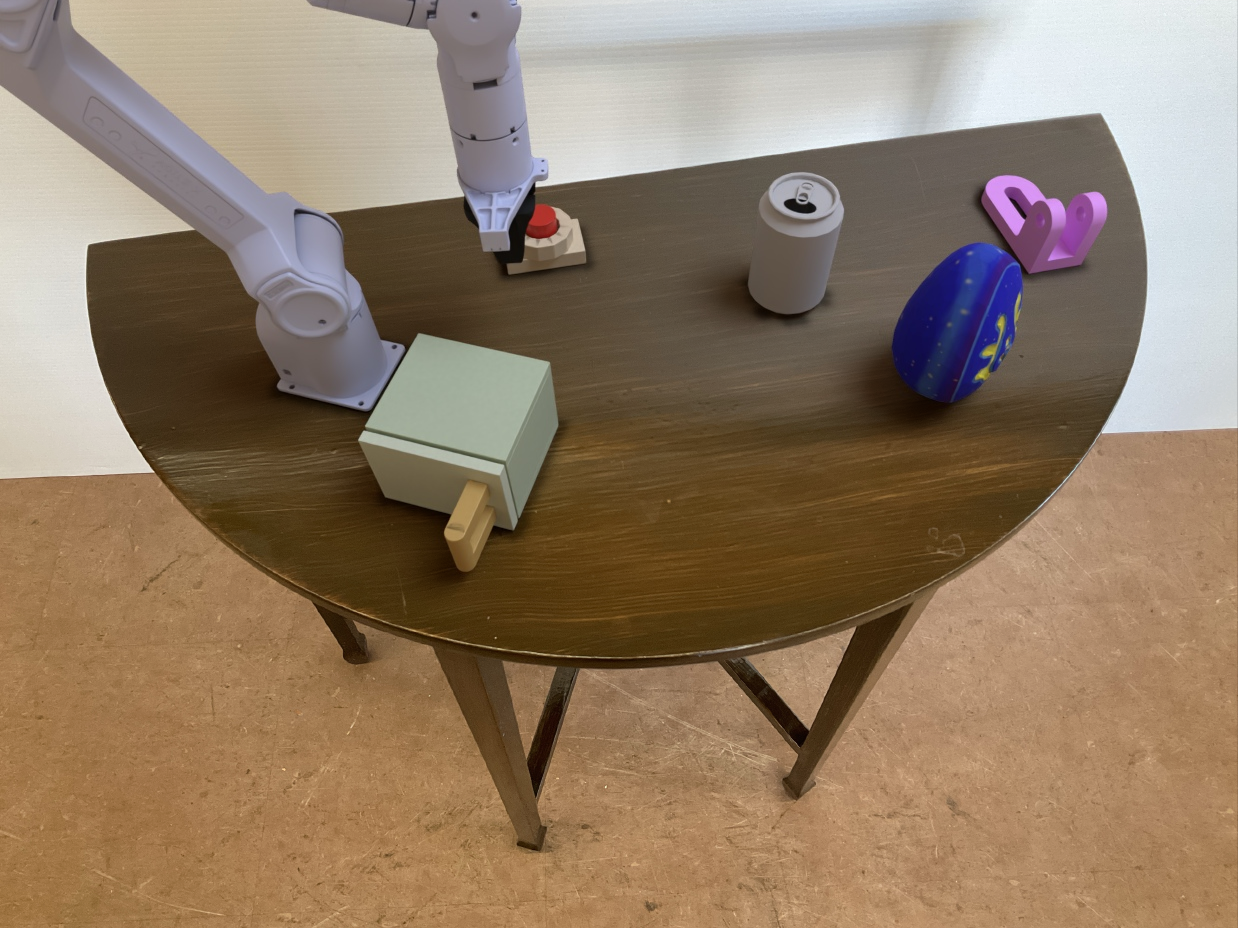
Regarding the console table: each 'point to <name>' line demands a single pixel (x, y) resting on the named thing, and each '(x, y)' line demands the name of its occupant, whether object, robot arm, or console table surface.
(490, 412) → the cupboard
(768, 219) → the can
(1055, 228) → the bracket
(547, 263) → the button box
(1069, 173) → the console table surface
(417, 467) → the door
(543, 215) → the button
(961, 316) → the ornament
